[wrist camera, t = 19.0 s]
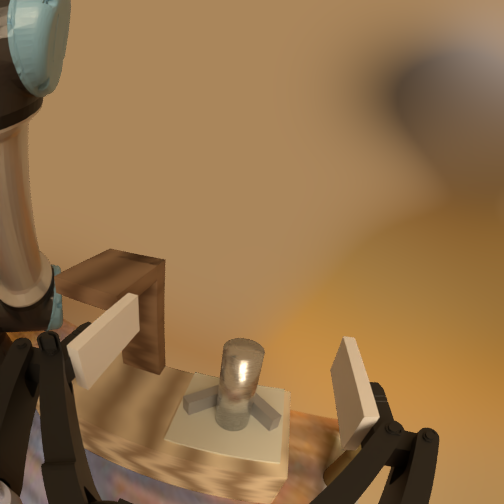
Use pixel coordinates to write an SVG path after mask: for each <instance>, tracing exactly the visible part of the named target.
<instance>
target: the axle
mask: <svg viewBox="0 0 504 504" xmlns="http://www.w3.org/2000/svg"><path fill="white" fill-rule="evenodd" d="M264 353H265V352H264V348H263V347H262V346H261V345H260V344H258V343H257V342H255V341H253V340H250V339H244V338H236V339H231V340H229V341H227V342H226V343H225V344H224V348H223V357H222V364H221V372H220V381H219V389H218V398H217V406H216V415H215V420H216V423H217V424H218V425H219V426H220V427H221V428H223V429H225V430H228V431H240V430H242V429H244V428H245V427H246V426H247V425H248V423H249V419H250V414H251V410H252V406H253V402H254V398H255V393H256V389H257V385H258V380H259V375H260V371H261V367H262V362H263V358H264Z"/></svg>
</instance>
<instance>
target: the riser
mask: <svg viewBox="0 0 504 504" xmlns="http://www.w3.org/2000/svg"><path fill="white" fill-rule="evenodd" d="M193 375H194V374H193V373H189V372H185V371H181V370H178V369H174V368H170V367H167V366H165V368H164V369H163V371H162V372H161V374H160V375H157V374H154V373H150V372H147V371H144V370H141V369H138V368H135V367H132V366H129V365H126V364H124V363H123V357H122V352H120V354H119V355H118V356H117V357H116V358H115V359H114V361H113V362H112V363H111V364H110V365H109V366H108V368H107V369H106V370H105V371H104V372H103V374H102V375H101V376H100V377H99V378H98V379H97V381H96V382H95V383H94V384H93V385H92V387H91V388H90V389H89V390H87V389H85V388H83V387H81V386H79V385H78V384H77V381H76V378H74V379H73V380H72V384H73V390H74V398H75V404H76V411H77V417H78V422H79V427H80V432H81V437H82V441H83V446H84V448H85V449H87V450H89V451H91V452H93V453H95V454H97V455H99V456H101V457H103V458H105V459H107V460H109V461H111V462H113V463H116V464H118V465H120V466H122V467H125V468H127V469H130V470H132V471H134V472H137V473H140V474H142V475H145V476H148V477H150V478H153V479H156V480H159V481H162V482H165V483H168V484H171V485H175V486H178V487H181V488H185V489H189V490H192V491H196V492H200V493H205V494H209V495H214V496H218V497H223V498H229V499H235V500H241V501H247V502H255V503H264V504H271V503H272V502H273V500H274V499H275V497H276V495H277V494H278V492H279V491H280V489H281V487H282V486H283V484H284V482H285V481H286V479H287V474H288V454H289V430H290V392H288V391H284V411H283V429H282V445H281V459H280V464H275V463H266V462H259V461H252V460H246V459H240V458H234V457H229V456H224V455H219V454H214V453H210V452H206V451H202V450H198V449H194V448H190V447H186V446H183V445H179V444H176V443H172V442H169V441H166V440H164V437H165V435H166V433H167V431H168V429H169V427H170V425H171V422H172V420H173V418H174V416H175V414H176V412H177V410H178V407H179V405H180V403H181V401H182V399H183V396H184V395H185V392H186V390H187V388H188V386H189V384H190V382H191V380H192V378H193ZM36 409H37V411H38V413H39V415H40V402H39V397H38V401H37V405H36Z"/></svg>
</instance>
